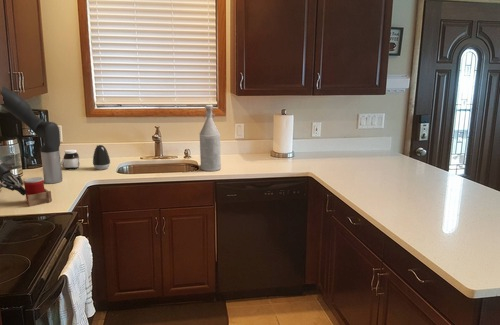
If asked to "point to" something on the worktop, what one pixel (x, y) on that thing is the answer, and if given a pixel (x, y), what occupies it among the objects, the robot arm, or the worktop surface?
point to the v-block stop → (39, 198)
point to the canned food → (33, 186)
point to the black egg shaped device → (101, 158)
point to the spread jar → (70, 159)
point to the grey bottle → (210, 143)
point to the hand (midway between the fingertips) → (25, 193)
